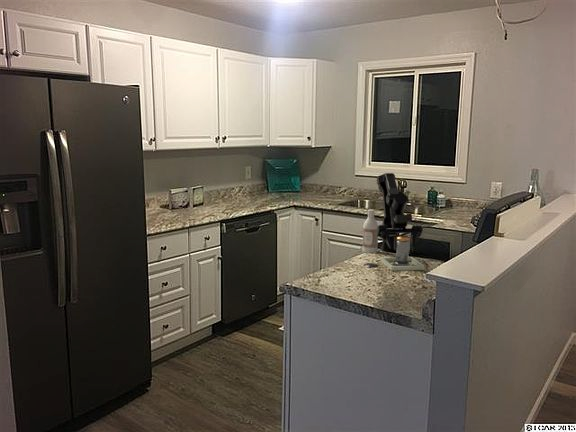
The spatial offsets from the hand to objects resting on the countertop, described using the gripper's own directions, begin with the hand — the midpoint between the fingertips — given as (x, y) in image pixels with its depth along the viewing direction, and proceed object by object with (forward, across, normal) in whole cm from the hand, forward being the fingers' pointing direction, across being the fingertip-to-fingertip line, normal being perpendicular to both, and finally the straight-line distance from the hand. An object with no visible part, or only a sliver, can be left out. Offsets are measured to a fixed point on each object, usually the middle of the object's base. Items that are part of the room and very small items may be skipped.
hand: (401, 248), depth 194 cm
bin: (+7, 0, +4) cm, 8 cm away
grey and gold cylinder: (+7, 0, +4) cm, 7 cm away
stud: (+8, -13, +3) cm, 15 cm away
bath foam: (-11, -10, +23) cm, 27 cm away
